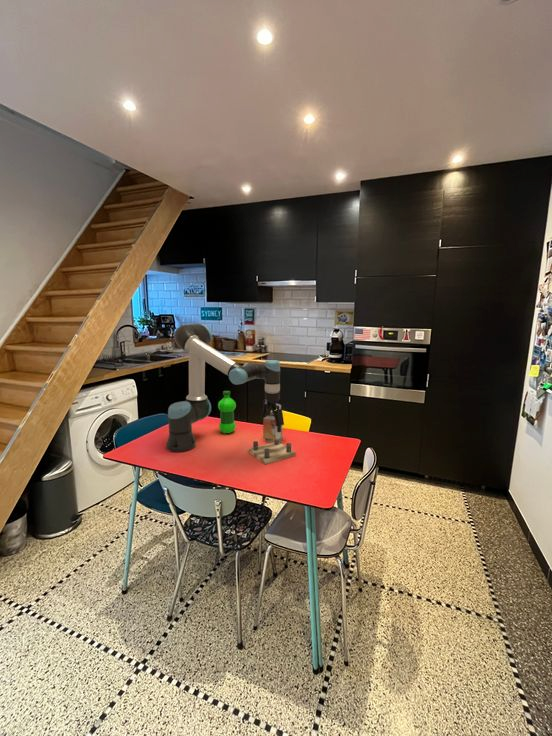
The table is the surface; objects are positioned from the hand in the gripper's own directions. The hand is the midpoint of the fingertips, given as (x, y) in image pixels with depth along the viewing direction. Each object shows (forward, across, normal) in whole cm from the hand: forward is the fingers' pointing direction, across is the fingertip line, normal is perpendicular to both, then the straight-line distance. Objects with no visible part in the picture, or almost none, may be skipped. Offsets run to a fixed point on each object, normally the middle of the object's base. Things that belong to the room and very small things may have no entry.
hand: (272, 434), depth 170 cm
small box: (+2, 0, 0) cm, 2 cm away
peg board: (+10, 0, 0) cm, 10 cm away
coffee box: (+11, +15, -11) cm, 22 cm away
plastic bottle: (+10, +40, +6) cm, 42 cm away
